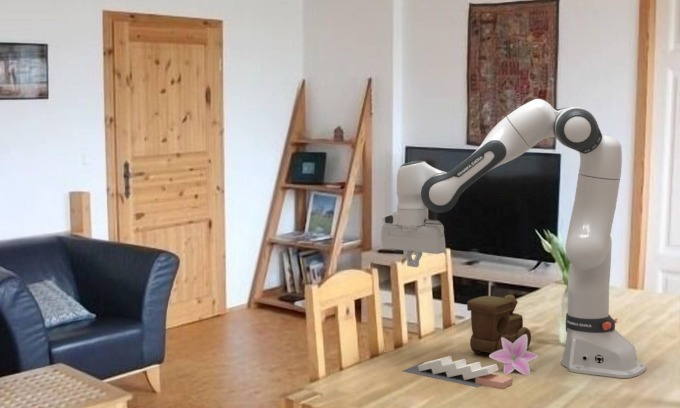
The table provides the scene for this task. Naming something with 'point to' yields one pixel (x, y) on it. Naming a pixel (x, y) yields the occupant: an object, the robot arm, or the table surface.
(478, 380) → the domino
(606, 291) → the robot arm
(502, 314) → the wooden toy train
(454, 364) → the domino
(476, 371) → the domino
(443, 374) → the domino mat
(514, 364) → the lily
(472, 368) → the domino
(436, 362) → the domino
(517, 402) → the table surface
